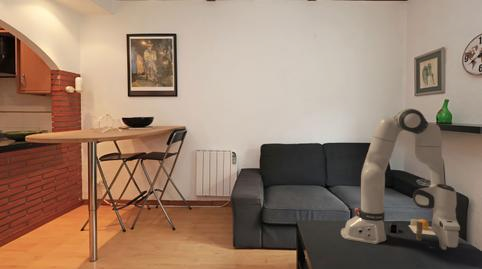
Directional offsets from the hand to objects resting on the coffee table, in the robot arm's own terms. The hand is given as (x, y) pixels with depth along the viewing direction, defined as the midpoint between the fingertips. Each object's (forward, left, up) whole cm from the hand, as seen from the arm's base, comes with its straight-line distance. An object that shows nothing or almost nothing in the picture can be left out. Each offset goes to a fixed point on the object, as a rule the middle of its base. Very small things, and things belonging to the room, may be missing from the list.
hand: (442, 248), depth 139 cm
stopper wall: (0, +34, -2) cm, 34 cm away
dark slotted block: (-16, +22, -2) cm, 28 cm away
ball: (+1, +29, +1) cm, 29 cm away
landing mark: (0, +26, -2) cm, 27 cm away
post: (-6, +12, -2) cm, 14 cm away
